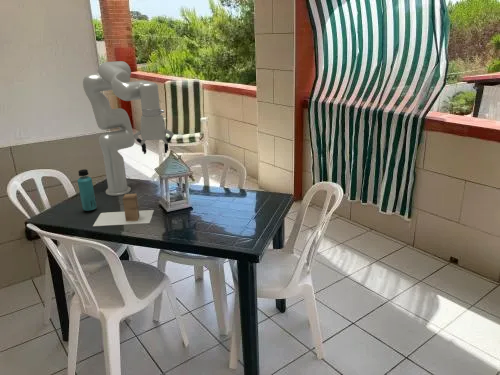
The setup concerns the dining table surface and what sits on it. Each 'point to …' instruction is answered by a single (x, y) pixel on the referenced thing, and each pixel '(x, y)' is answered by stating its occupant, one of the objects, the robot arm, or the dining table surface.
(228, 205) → the dining table surface
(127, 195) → the walnut block
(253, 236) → the dining table surface
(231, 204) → the dining table surface
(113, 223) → the white rectangular board
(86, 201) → the beverage bottle
